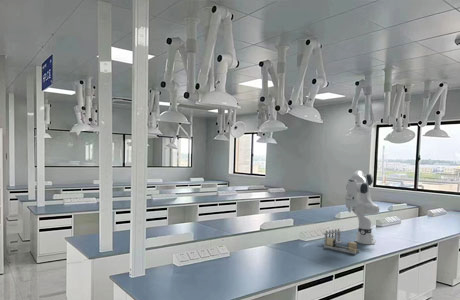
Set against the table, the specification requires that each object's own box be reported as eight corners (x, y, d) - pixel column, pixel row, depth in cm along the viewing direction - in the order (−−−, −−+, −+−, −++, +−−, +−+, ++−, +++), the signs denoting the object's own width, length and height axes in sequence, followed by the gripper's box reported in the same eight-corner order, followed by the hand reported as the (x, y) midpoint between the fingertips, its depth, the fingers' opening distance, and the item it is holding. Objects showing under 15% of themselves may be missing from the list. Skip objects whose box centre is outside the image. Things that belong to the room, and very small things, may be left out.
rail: (328, 246, 297) (328, 236, 297) (358, 252, 278) (359, 242, 278) (324, 248, 289) (324, 238, 289) (354, 255, 271) (355, 244, 271)
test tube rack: (325, 245, 299) (325, 231, 299) (321, 244, 302) (322, 230, 303) (342, 242, 312) (342, 229, 313) (338, 241, 316) (339, 228, 316)
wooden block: (349, 250, 281) (349, 241, 281) (356, 252, 277) (356, 242, 277) (347, 251, 278) (347, 242, 278) (355, 253, 274) (355, 243, 274)
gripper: (352, 195, 302) (352, 210, 301) (344, 197, 286) (344, 212, 286) (359, 196, 298) (358, 210, 297) (351, 198, 282) (351, 213, 282)
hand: (351, 211), depth 291 cm, fingers open, 8 cm apart
